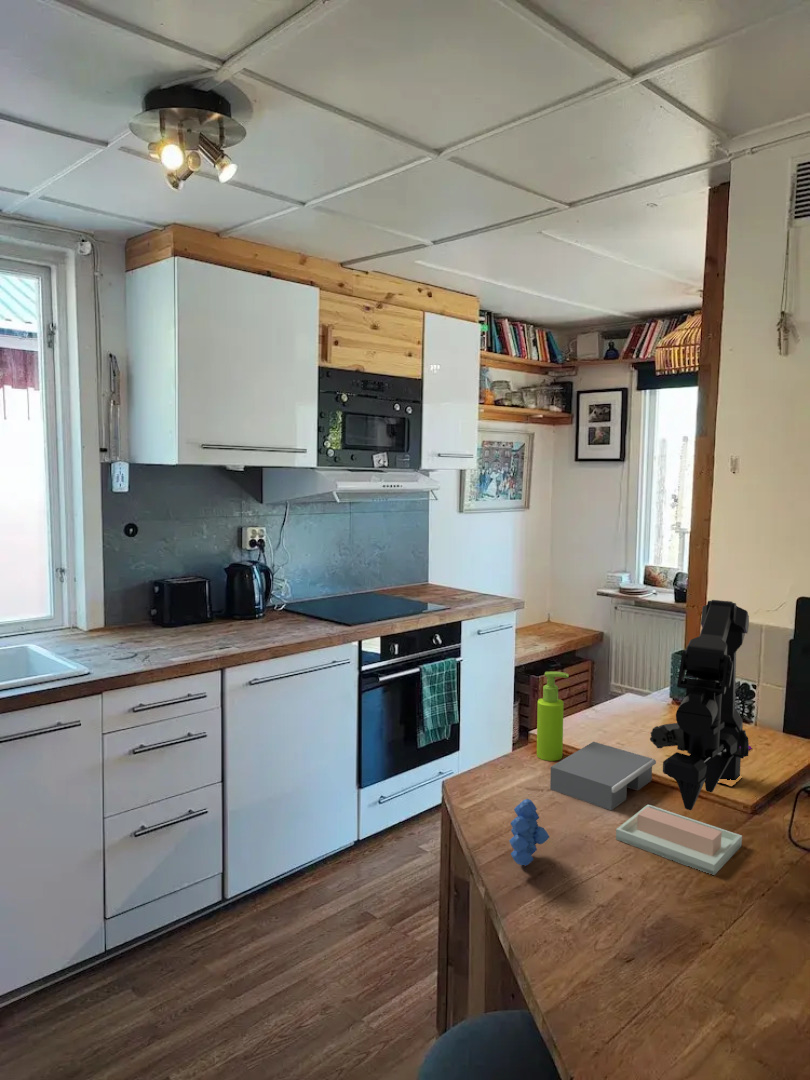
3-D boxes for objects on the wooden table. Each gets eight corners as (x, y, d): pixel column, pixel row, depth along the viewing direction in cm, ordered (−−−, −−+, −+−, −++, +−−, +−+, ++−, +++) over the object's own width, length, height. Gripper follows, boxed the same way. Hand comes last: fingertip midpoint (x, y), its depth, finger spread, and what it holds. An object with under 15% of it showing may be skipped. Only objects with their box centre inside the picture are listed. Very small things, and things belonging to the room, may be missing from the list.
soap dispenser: (566, 762, 177) (568, 677, 175) (536, 759, 179) (537, 675, 176) (566, 752, 183) (568, 669, 180) (537, 749, 185) (538, 668, 182)
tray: (741, 845, 141) (742, 835, 141) (713, 875, 132) (714, 864, 131) (647, 813, 153) (647, 804, 153) (615, 839, 144) (616, 829, 143)
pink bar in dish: (720, 847, 139) (721, 831, 139) (712, 856, 136) (713, 840, 136) (646, 821, 149) (647, 806, 148) (637, 829, 146) (637, 814, 145)
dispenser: (655, 781, 167) (656, 759, 166) (615, 812, 154) (615, 788, 153) (593, 762, 177) (593, 741, 176) (550, 789, 164) (550, 766, 163)
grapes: (542, 888, 129) (543, 819, 127) (502, 879, 131) (502, 812, 129) (555, 852, 139) (556, 789, 138) (518, 845, 142) (518, 783, 140)
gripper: (680, 693, 149) (677, 770, 151) (635, 719, 135) (632, 804, 137) (740, 706, 141) (735, 788, 143) (699, 735, 128) (694, 825, 130)
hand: (699, 800), depth 139 cm, fingers open, 9 cm apart
